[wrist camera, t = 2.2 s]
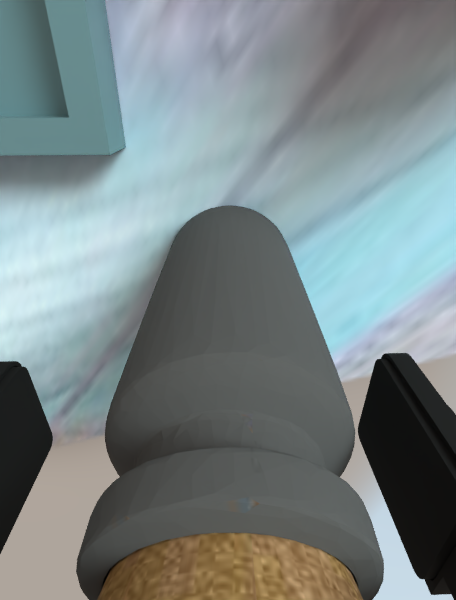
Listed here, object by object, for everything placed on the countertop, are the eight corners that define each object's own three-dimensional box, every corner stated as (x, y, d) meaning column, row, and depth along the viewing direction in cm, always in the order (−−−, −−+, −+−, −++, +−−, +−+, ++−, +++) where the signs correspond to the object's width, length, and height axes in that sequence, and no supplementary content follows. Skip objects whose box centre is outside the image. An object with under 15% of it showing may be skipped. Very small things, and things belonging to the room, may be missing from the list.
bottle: (295, 302, 18) (456, 803, 5) (188, 322, 19) (98, 811, 6) (280, 191, 15) (550, 691, 2) (154, 218, 16) (-161, 730, 3)
